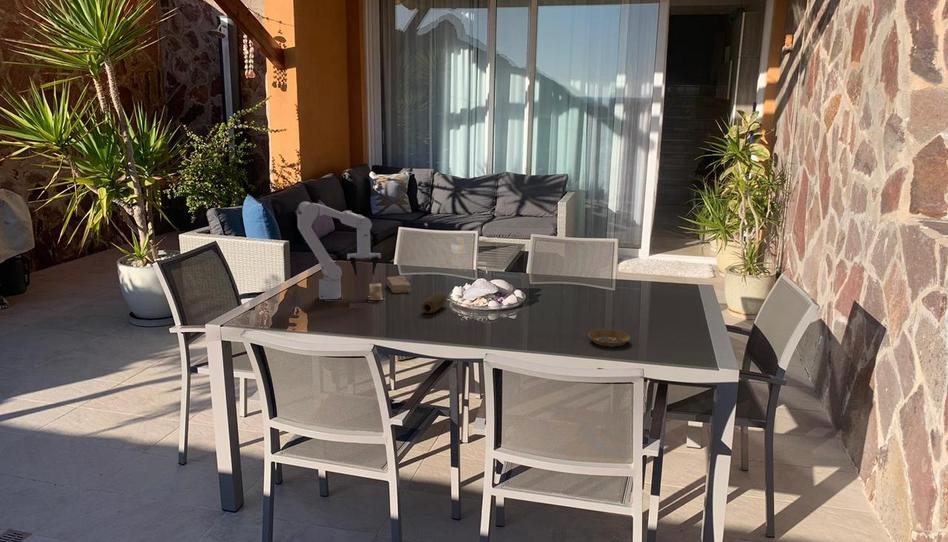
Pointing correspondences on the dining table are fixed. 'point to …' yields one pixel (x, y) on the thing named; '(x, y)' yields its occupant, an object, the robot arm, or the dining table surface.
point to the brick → (398, 284)
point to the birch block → (375, 291)
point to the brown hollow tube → (434, 302)
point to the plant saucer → (610, 334)
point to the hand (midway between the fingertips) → (364, 274)
